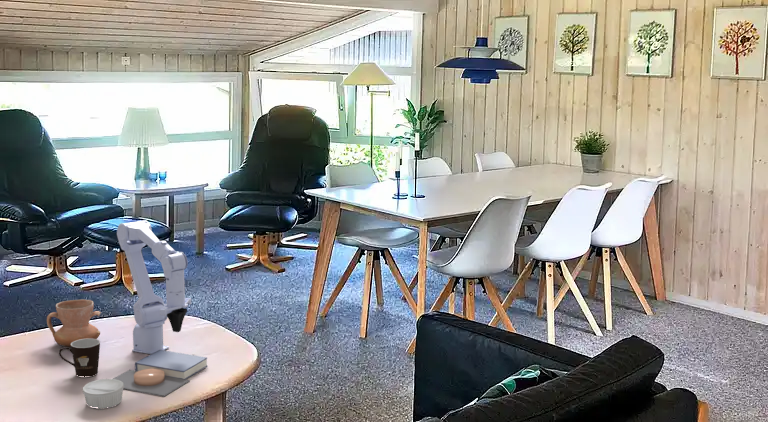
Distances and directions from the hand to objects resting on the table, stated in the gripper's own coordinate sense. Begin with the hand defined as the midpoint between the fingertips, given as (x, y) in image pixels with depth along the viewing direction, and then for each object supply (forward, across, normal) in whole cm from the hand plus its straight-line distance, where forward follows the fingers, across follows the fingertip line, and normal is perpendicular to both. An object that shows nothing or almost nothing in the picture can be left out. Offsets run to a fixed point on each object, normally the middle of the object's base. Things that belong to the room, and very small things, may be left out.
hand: (176, 331), depth 278 cm
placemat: (+10, -19, -2) cm, 22 cm away
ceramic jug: (+10, +1, +42) cm, 43 cm away
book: (+10, -6, -2) cm, 12 cm away
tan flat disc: (+10, -18, -2) cm, 20 cm away
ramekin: (+11, -36, 0) cm, 37 cm away
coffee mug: (+10, -20, +21) cm, 31 cm away
